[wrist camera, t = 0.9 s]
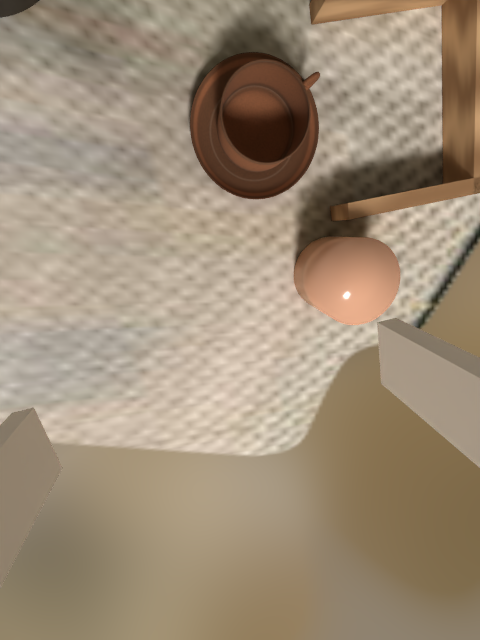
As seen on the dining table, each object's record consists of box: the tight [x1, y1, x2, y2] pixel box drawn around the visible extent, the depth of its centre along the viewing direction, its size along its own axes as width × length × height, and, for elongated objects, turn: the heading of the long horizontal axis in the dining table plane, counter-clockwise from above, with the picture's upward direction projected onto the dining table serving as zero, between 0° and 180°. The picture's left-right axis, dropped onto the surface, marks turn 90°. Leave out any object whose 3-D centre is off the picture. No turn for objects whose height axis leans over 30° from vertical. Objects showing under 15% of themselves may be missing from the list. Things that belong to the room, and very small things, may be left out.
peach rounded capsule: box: [294, 237, 400, 325], centre depth 33 cm, size 8×8×7 cm
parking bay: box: [309, 0, 480, 221], centre depth 30 cm, size 19×14×4 cm
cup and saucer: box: [190, 52, 320, 199], centre depth 28 cm, size 12×12×6 cm
